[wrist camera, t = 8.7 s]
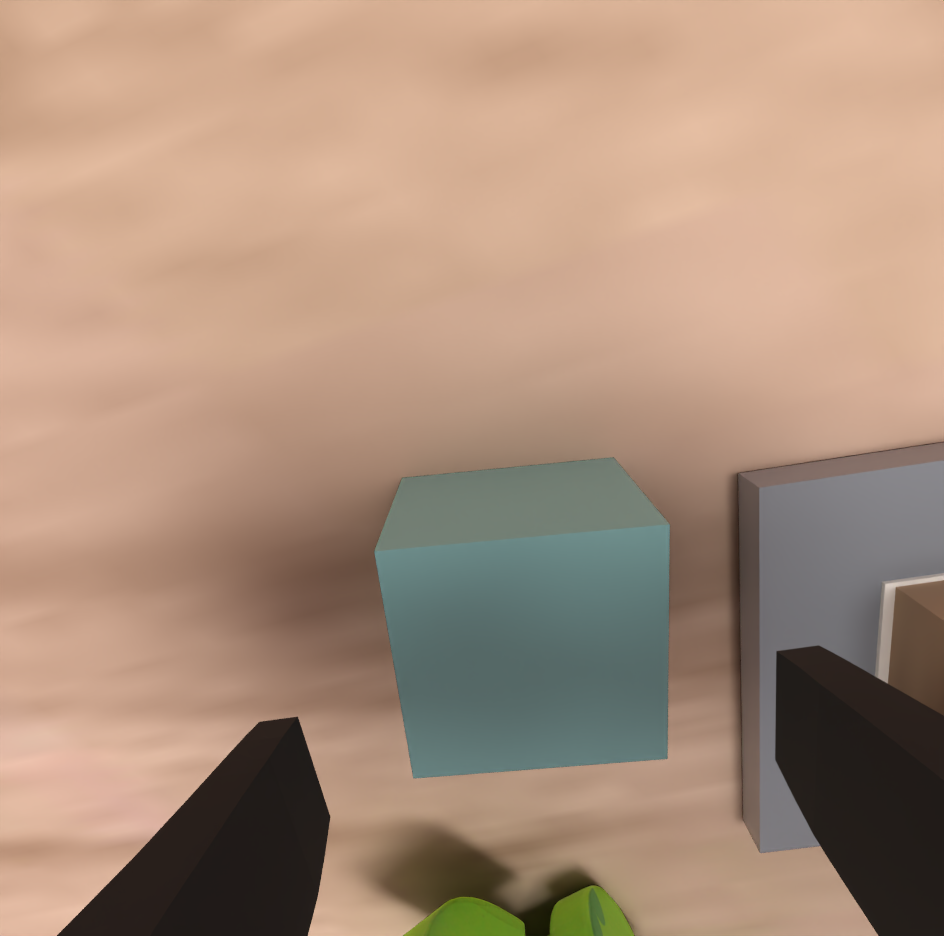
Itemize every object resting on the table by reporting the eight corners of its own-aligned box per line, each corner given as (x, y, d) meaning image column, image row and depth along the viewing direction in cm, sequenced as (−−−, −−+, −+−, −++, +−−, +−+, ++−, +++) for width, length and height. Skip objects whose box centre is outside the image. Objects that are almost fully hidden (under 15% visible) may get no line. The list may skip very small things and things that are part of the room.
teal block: (616, 636, 15) (667, 759, 11) (429, 651, 15) (413, 778, 11) (612, 455, 13) (669, 524, 9) (403, 475, 13) (373, 550, 9)
